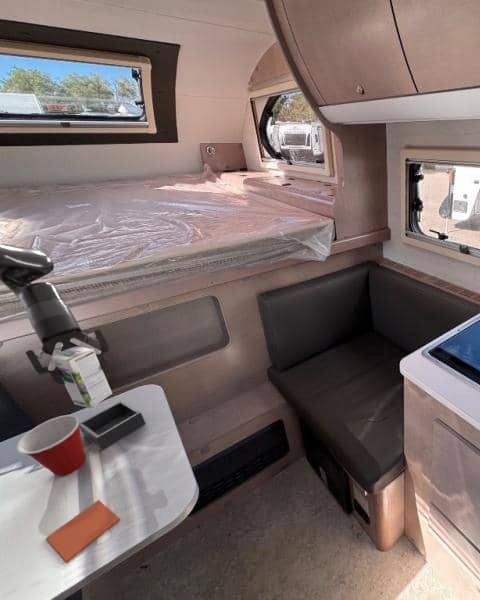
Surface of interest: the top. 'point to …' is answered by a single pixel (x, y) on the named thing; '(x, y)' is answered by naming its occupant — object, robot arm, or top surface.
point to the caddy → (115, 432)
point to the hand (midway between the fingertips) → (84, 376)
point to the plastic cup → (56, 445)
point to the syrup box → (82, 376)
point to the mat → (82, 530)
